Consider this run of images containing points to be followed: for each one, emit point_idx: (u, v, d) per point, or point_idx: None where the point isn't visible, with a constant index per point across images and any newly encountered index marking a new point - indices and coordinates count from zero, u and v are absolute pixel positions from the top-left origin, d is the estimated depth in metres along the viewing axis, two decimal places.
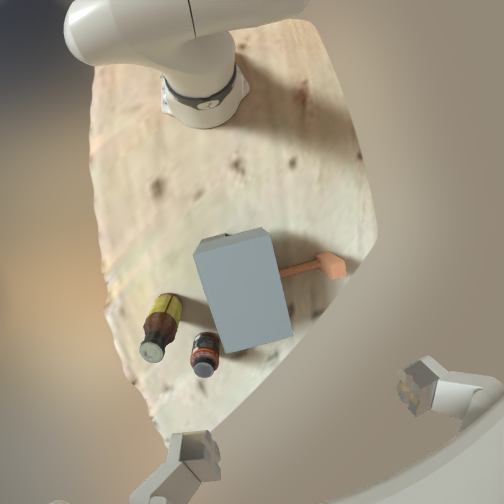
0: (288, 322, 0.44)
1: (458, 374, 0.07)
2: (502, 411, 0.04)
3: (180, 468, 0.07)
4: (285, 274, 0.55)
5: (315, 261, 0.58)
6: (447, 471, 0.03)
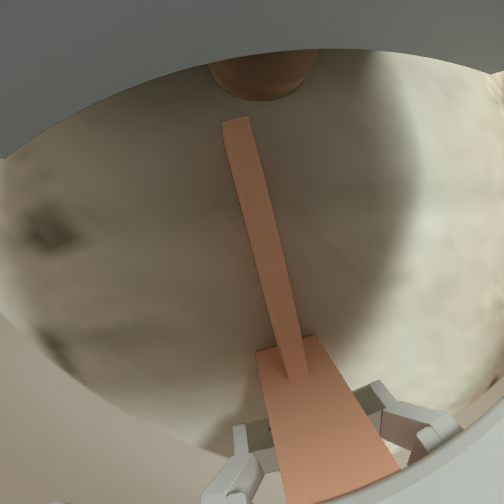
0: None
1: (408, 404, 0.07)
2: (502, 411, 0.04)
3: (250, 460, 0.07)
4: (251, 167, 0.08)
5: None
6: (447, 471, 0.03)
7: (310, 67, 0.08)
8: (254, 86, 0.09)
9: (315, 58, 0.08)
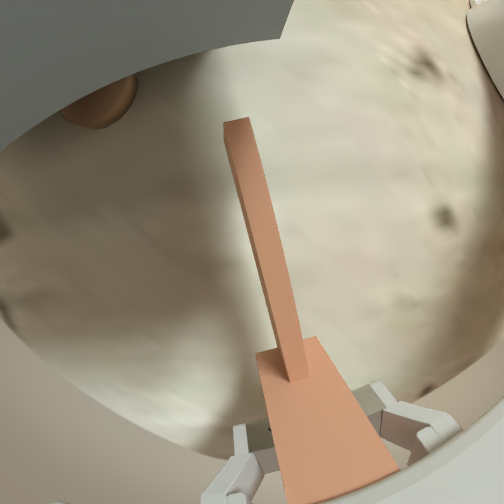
0: None
1: (408, 404, 0.07)
2: (502, 411, 0.04)
3: (250, 460, 0.07)
4: (252, 169, 0.08)
5: None
6: (447, 471, 0.03)
7: (115, 98, 0.11)
8: (82, 123, 0.11)
9: (120, 89, 0.10)
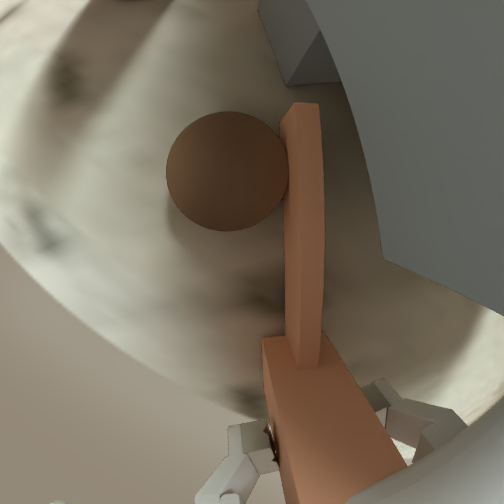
0: None
1: (412, 402, 0.07)
2: (502, 411, 0.04)
3: (245, 461, 0.07)
4: (313, 151, 0.08)
5: None
6: (447, 471, 0.03)
7: (270, 210, 0.10)
8: (209, 228, 0.10)
9: (279, 199, 0.10)
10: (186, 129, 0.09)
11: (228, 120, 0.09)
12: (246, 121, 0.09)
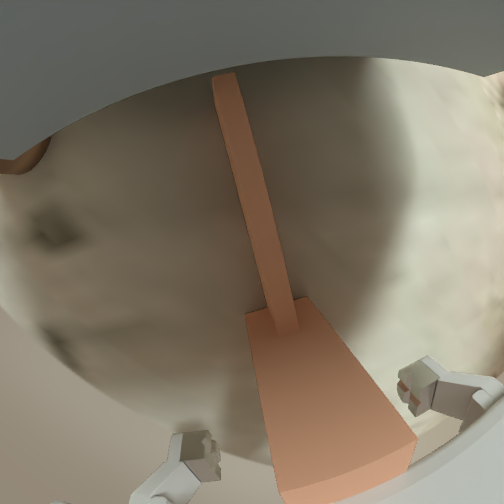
0: None
1: (457, 374, 0.07)
2: (502, 411, 0.04)
3: (180, 468, 0.07)
4: (237, 115, 0.08)
5: None
6: (447, 471, 0.03)
7: None
8: None
9: None
10: None
11: None
12: None
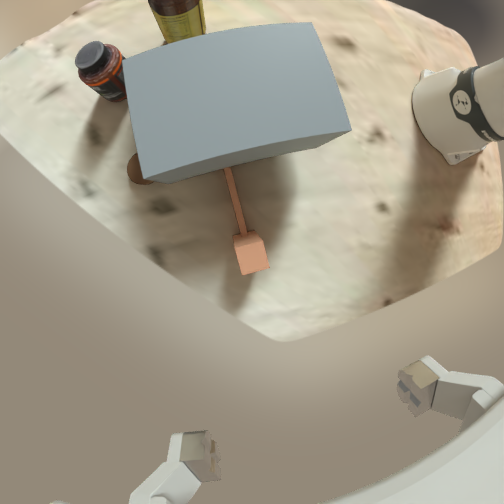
0: (175, 164, 0.20)
1: (457, 374, 0.07)
2: (502, 411, 0.04)
3: (180, 468, 0.07)
4: (229, 174, 0.32)
5: None
6: (447, 471, 0.03)
7: None
8: (138, 183, 0.33)
9: None
10: (132, 157, 0.32)
11: None
12: None
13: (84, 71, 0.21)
